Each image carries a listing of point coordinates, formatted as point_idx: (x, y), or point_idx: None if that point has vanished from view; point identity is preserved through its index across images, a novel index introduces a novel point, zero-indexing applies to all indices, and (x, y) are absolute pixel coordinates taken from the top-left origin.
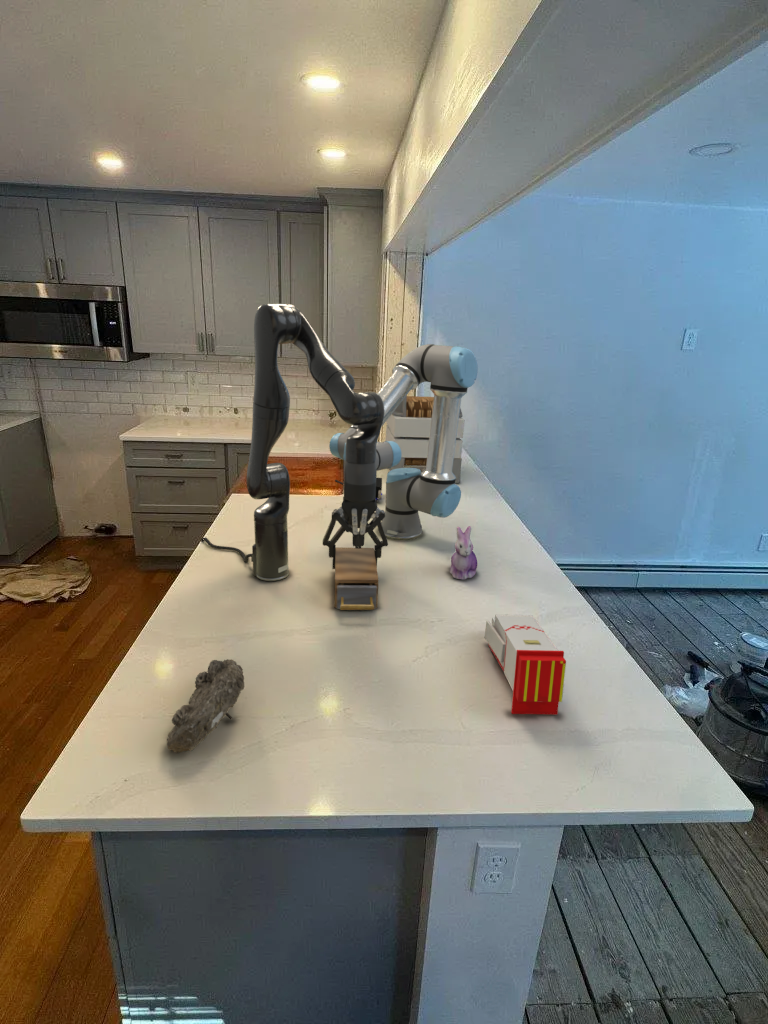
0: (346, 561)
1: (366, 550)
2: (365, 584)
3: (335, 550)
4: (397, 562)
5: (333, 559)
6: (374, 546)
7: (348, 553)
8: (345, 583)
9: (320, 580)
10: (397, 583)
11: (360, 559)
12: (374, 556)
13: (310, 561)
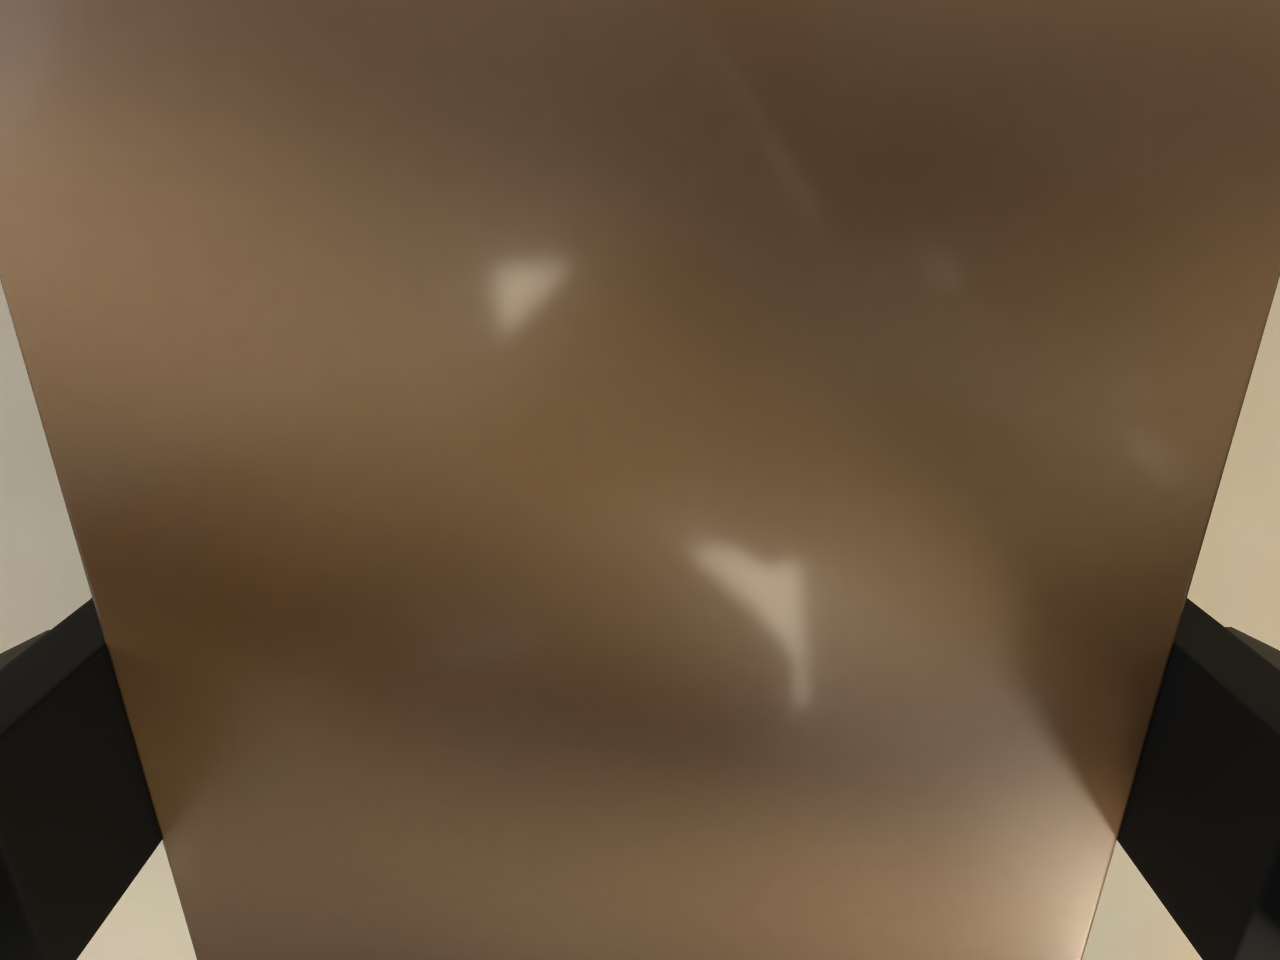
0: (948, 138)
1: (354, 844)
2: None
3: (1256, 713)
4: None
5: None
6: (80, 940)
7: (817, 686)
8: None
9: None
10: (5, 328)
11: (482, 305)
12: (85, 522)
13: (1145, 883)
